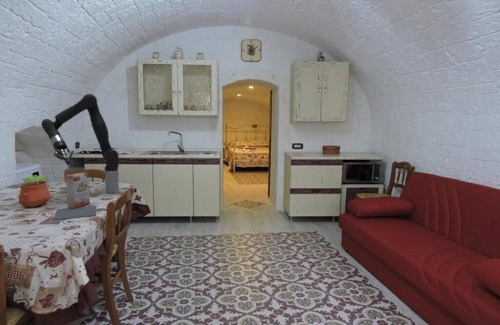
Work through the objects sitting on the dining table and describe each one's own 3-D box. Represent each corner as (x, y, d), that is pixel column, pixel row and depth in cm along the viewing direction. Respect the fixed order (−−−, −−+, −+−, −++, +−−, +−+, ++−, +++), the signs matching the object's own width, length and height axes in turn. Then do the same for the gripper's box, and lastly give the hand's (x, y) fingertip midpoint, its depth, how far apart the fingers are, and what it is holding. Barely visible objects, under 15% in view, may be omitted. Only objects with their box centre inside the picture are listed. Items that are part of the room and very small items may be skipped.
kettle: (21, 191, 250) (20, 177, 248) (29, 187, 263) (27, 174, 262) (43, 190, 254) (42, 176, 252) (49, 186, 267) (48, 173, 265)
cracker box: (75, 208, 204) (73, 175, 202) (67, 208, 205) (65, 175, 203) (90, 203, 218) (88, 172, 216) (82, 203, 219) (80, 172, 217)
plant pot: (61, 189, 259) (60, 169, 257) (79, 185, 272) (78, 166, 269) (72, 191, 251) (70, 171, 249) (90, 188, 264) (89, 168, 262)
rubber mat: (57, 210, 203) (57, 209, 203) (96, 206, 212) (96, 205, 212) (52, 220, 183) (52, 219, 183) (96, 215, 192) (95, 214, 192)
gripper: (49, 140, 212) (60, 160, 206) (70, 139, 222) (81, 158, 217) (46, 148, 215) (56, 168, 210) (67, 146, 226) (77, 165, 221)
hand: (69, 163), depth 214 cm, fingers closed
